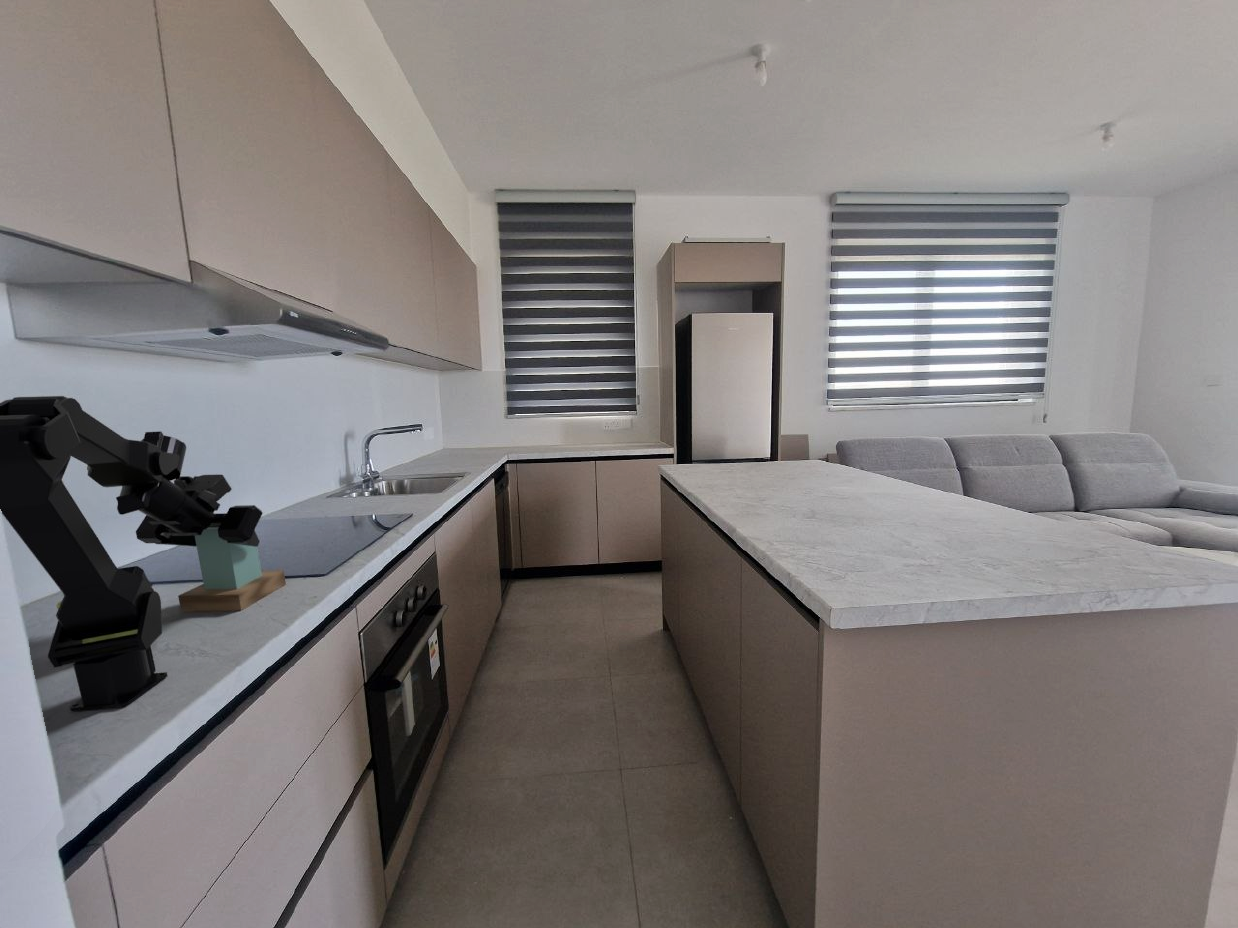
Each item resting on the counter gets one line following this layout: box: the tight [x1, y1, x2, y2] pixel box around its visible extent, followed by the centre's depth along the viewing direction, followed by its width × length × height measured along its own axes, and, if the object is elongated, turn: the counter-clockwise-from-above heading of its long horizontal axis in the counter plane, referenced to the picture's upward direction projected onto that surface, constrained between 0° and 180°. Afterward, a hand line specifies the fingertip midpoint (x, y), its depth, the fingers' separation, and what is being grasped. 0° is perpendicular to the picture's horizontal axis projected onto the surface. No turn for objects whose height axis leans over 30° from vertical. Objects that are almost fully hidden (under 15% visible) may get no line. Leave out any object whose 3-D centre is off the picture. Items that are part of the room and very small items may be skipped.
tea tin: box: [195, 527, 262, 590], centre depth 87 cm, size 6×6×12 cm
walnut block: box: [177, 569, 287, 612], centre depth 88 cm, size 11×11×3 cm
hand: (234, 544), depth 88 cm, fingers open, 9 cm apart
